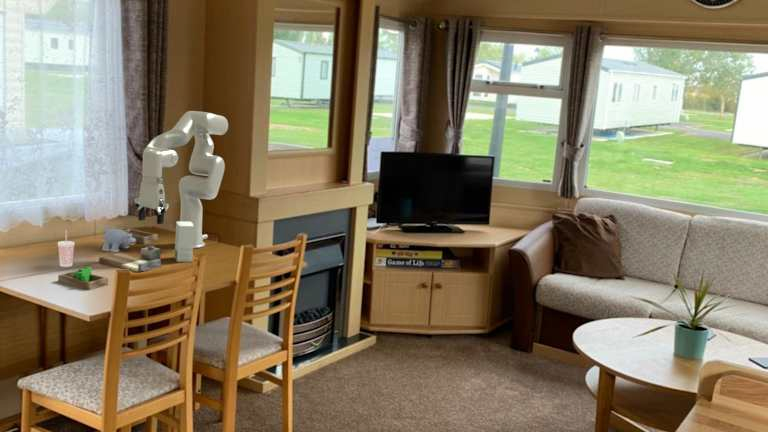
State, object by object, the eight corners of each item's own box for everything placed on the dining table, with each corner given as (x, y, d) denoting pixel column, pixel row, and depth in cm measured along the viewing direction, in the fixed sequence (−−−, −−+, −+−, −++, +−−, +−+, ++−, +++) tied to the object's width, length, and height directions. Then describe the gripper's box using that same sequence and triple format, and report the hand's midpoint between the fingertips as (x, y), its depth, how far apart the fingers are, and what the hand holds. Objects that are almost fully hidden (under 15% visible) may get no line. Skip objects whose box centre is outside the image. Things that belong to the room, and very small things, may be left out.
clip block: (150, 258, 317) (150, 244, 316) (160, 260, 315) (160, 246, 314) (140, 260, 312) (140, 246, 311) (150, 262, 310) (151, 248, 309)
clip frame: (130, 235, 353) (130, 228, 353) (157, 241, 347) (157, 234, 346) (116, 238, 346) (116, 231, 345) (144, 244, 339) (144, 237, 338)
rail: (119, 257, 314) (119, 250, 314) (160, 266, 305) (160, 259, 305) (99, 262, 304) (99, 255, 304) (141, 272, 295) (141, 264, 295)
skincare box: (174, 257, 321) (175, 221, 318) (190, 256, 324) (191, 221, 321) (177, 262, 314) (178, 225, 311) (193, 261, 316) (194, 225, 314)
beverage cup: (58, 267, 293) (58, 232, 290) (57, 263, 298) (56, 228, 296) (75, 266, 296) (75, 231, 293) (73, 262, 301) (73, 228, 299)
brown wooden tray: (76, 276, 283) (76, 270, 283) (107, 284, 277) (108, 278, 276) (58, 281, 275) (58, 275, 275) (89, 289, 269) (89, 283, 269)
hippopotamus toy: (127, 254, 320) (127, 232, 319) (95, 249, 324) (96, 227, 322) (141, 249, 331) (141, 227, 329) (110, 244, 334) (110, 223, 332)
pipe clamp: (80, 278, 281) (80, 266, 280) (91, 278, 282) (91, 266, 281) (73, 287, 270) (73, 275, 269) (84, 287, 271) (84, 275, 270)
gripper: (175, 182, 307) (173, 223, 310) (142, 177, 314) (141, 217, 317) (162, 184, 301) (161, 226, 304) (129, 178, 308) (128, 219, 311)
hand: (150, 221), depth 311 cm, fingers open, 9 cm apart
